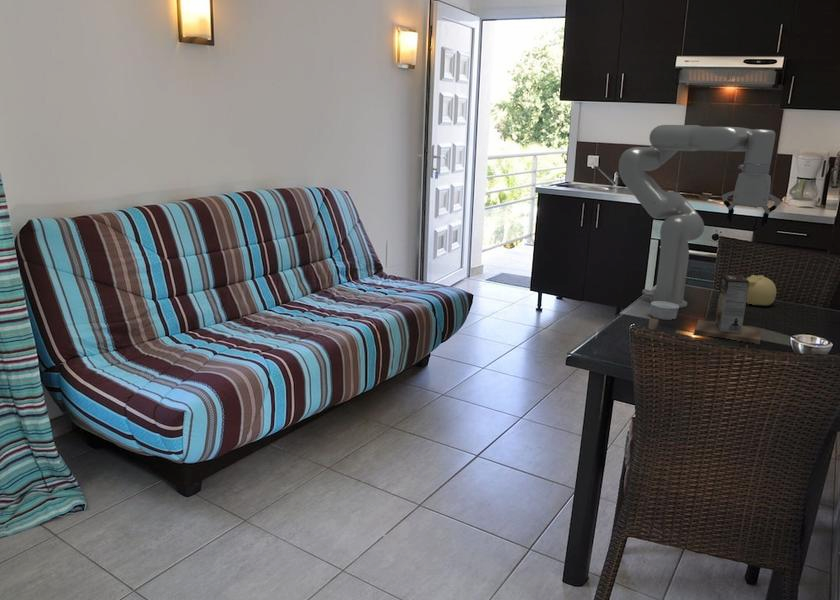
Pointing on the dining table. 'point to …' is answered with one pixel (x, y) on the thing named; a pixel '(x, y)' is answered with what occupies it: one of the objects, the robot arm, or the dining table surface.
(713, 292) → the dining table surface
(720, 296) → the coffee box
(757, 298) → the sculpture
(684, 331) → the dining table surface
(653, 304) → the ramekin
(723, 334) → the walnut board
